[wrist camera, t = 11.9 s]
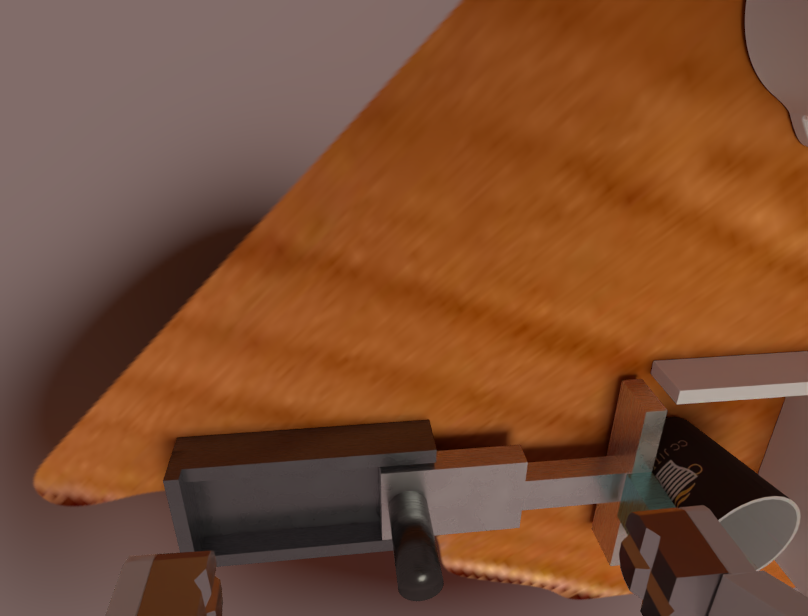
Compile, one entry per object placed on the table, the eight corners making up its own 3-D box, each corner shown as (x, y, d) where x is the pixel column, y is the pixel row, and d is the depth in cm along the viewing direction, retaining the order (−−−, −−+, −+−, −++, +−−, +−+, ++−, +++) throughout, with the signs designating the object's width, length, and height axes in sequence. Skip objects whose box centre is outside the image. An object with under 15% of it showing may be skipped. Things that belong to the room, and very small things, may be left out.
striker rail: (429, 419, 47) (438, 459, 43) (426, 513, 52) (435, 556, 48) (176, 437, 45) (163, 480, 41) (197, 533, 50) (186, 580, 46)
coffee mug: (693, 388, 49) (791, 475, 40) (715, 451, 53) (808, 542, 45) (568, 463, 49) (637, 565, 41) (600, 519, 54) (670, 622, 45)
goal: (816, 350, 49) (925, 430, 40) (753, 517, 57) (831, 613, 48) (653, 360, 47) (729, 446, 38) (614, 530, 56) (668, 631, 47)
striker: (651, 378, 47) (774, 524, 34) (617, 526, 55) (707, 691, 42) (376, 396, 45) (397, 559, 32) (379, 548, 52) (398, 730, 40)
